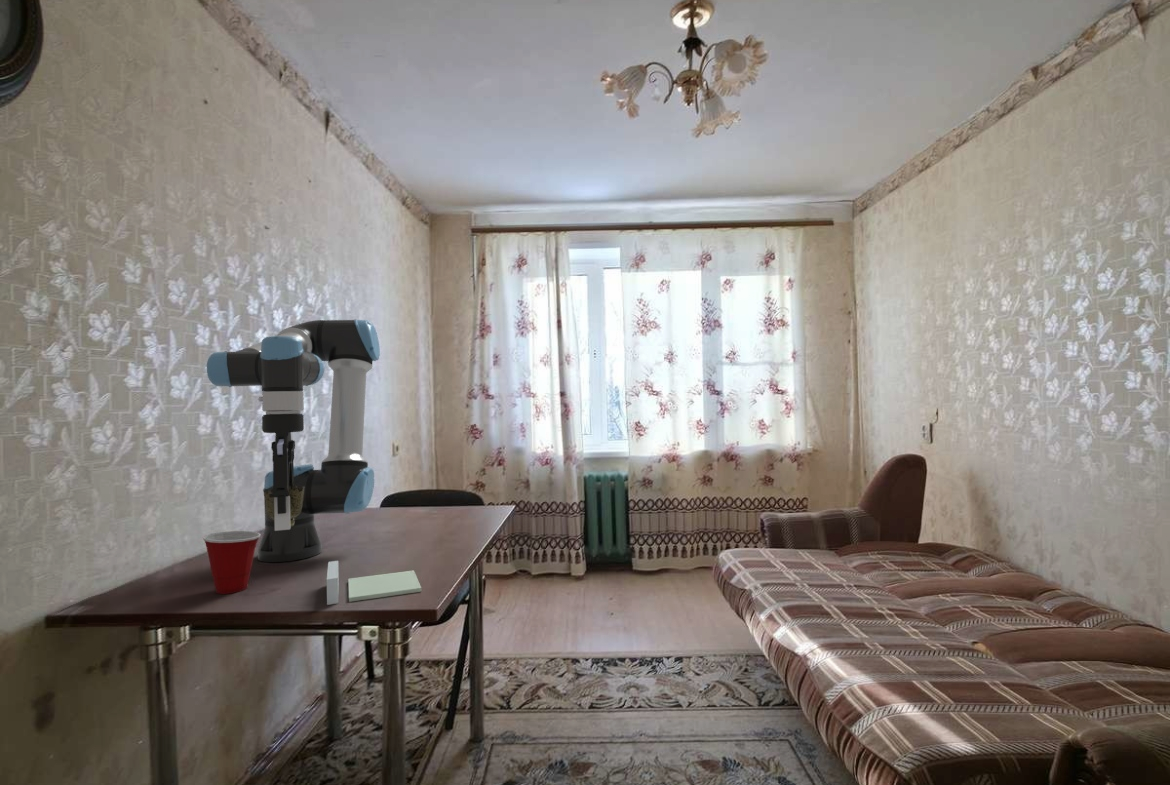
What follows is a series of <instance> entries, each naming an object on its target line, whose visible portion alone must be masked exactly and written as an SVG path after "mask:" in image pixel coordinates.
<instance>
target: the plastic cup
mask: <svg viewBox="0 0 1170 785" xmlns="http://www.w3.org/2000/svg"><path fill="white" fill-rule="evenodd" d="M261 537H262V534H261V533H260V532H259V531H257V532H256V531H252V530H251V531H249V530H233V531H229V530H228V531H219V532H213V533H209V534H205V535H203V536H202V538H203V541H204V544H205V547H206V552H207V556H208V560H209V565H210V570H211V577H212V579H213V583H214V589H215V590H216V591H215V592H216V593H217V594H221V595H222V594H223V595H224V594H226V595H227V594H234V593H238V592H241V591H244V590H246V589H247V588H248V586H249V583H250V582H249V580H250V574H251V571H252V567H253V562H254V556H255V549H256V546H257V544H258V540H259V538H261Z"/></svg>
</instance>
